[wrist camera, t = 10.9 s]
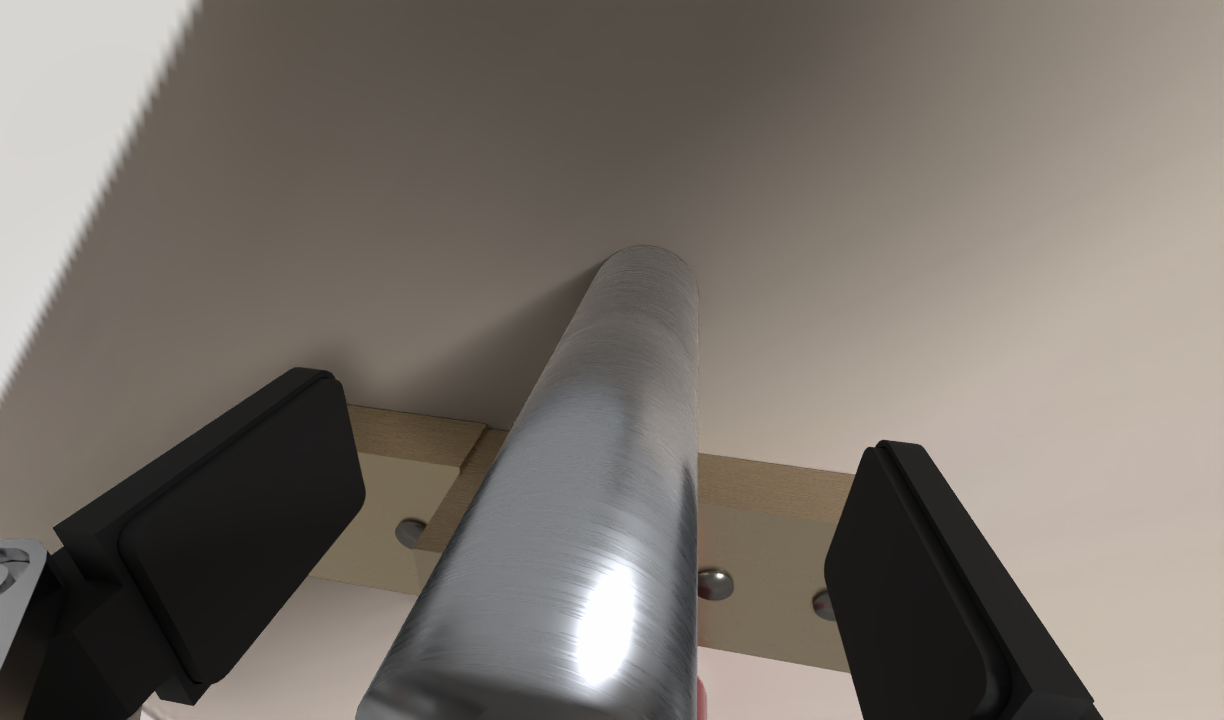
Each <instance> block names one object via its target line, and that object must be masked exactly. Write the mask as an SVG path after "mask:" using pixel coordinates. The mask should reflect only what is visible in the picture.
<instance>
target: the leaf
mask: <svg viewBox="0 0 1224 720" xmlns="http://www.w3.org/2000/svg"><path fill="white" fill-rule="evenodd" d="M347 408H348V413H349V417H350V422H351V426H352V431H353V435H354V440H355V444H356V449H357V453H358V458H359V462H360V467H361V471H362V476H363V480H364V485H365V489H366V497H365V502H364V504H363V507H362V508H361V510H360V511H359V513H358V514H357V515H356V516H355V518H354V519H353V520H352V521H351V523H350V524H349V525H348V526H347V528H346V529H345V530H344V531H343V532H342V534H341V535H340V536H339V537H338V539H337V540H336V541H335V542H334V544H333V545H332V546H331V547H330V549H329V550H328V551H327V552H326V553H325V555H324V556H323V557H322V558H321V560H320V561H319V562H318V563H317V565H316V566H315V567H314V568H313V570H312V571H311V572H310V573H309V574H308V576H312V577H317V578H323V579H328V580H334V581H340V582H345V583H351V584H356V585H362V586H367V587H373V588H379V589H384V590H390V591H395V592H401V593H406V594H412V595H418V596H419V595H420V593H421V589H420V584H419V579H418V574H417V569H416V564H415V559H414V554H413V549H412V548H413V547H414V545H415V543H416V542H417V540H418V539H419V537H420V535H421V534H422V532H423V531H424V529H425V527H426V526H427V524H428V523H429V521H430V519H431V518H432V516H433V515H434V513H435V511H436V510H437V508H438V507H439V505H440V503H441V502H442V500H443V498H444V497H445V495H446V494H447V492H448V490H449V489H450V487H451V486H452V484H453V482H454V481H455V479H456V478H457V476H458V474H459V473H460V471H461V470H462V468H463V466H464V465H465V463H466V462H467V460H468V458H469V457H470V455H471V454H472V452H473V450H474V449H475V447H476V446H477V444H478V442H479V441H480V439H481V438H482V436H483V434H484V433H485V431H486V429H487V424H482V423H475V422H468V421H461V420H454V419H446V418H439V417H432V416H425V415H417V414H410V413H403V412H396V411H389V410H381V409H374V408H367V407H360V406H353V405H347Z"/></svg>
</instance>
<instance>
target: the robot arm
mask: <svg viewBox="0 0 1224 720" xmlns="http://www.w3.org/2000/svg"><path fill="white" fill-rule="evenodd" d="M365 497H366V489H365V485H364V480H363V476H362V471H361V467H360V462H359V458H358V453H357V449H356V444H355V440H354V435H353V431H352V426H351V422H350V417H349V413H348V408H347V404H346V400H345V395H344V391H343V387H342V384H341V383H340V382H339V381H338V380H336V379H335V377H334V375H333V374H332V373H331V372H329V371H325V370H317V369H309V368H301V367H295V368H293V369H291V370H289V371H287V372H286V373H284V374H283V375H281V376H280V377H278V378H277V379H275V380H274V381H272V382H271V383H269V384H268V385H266V386H265V387H263V388H262V389H260V390H259V391H257V392H256V393H254V394H253V395H251V396H250V397H248V398H247V399H245V400H244V401H242V402H241V403H239V404H238V405H236V406H235V407H233V408H232V409H230V410H229V411H227V412H226V413H224V414H223V415H221V416H220V417H218V418H217V419H215V420H214V421H212V422H211V423H209V424H208V425H206V426H205V427H203V428H202V429H200V430H199V431H197V432H196V433H194V434H193V435H191V436H190V437H188V438H187V439H185V440H184V441H182V442H181V443H179V444H178V445H176V446H175V447H173V448H172V449H170V450H169V451H167V452H166V453H164V454H163V455H161V456H160V457H158V458H157V459H155V460H154V461H152V462H151V463H149V464H148V465H146V466H145V467H143V468H142V469H140V470H139V471H137V472H136V473H134V474H133V475H131V476H130V477H128V478H127V479H125V480H124V481H122V482H121V483H119V484H118V485H116V486H115V487H113V488H112V489H110V490H109V491H107V492H106V493H104V494H103V495H101V496H100V497H98V498H97V499H95V500H94V501H92V502H91V503H89V504H88V505H86V506H85V507H83V508H82V509H80V510H79V511H77V512H76V513H74V514H73V515H71V516H70V517H68V518H67V519H65V520H64V521H62V522H61V523H59V524H58V525H56V526H55V527H53V529H54V531H55V532H56V534H57V536H58V537H59V539H60V540H61V542H62V543H63V545H64V547H62V548H61V549H59V550H58V551H57V552H55V553H54V554H52V555H50V554H49V552H48V551H47V549H46V548H45V547H44V546H43V545H42V543H41V542H38V541H34V540H30V539H7V540H2V541H0V720H140V716H141V710H142V704H143V703H144V702H145V701H146V700H147V699H148V697H149V696H150V695H151V694H152V693H153V692H154V691H155V692H156V693H157V695H158V696H159V698H160V699H161V700H166V701H171V702H176V703H181V704H186V705H191V706H194V705H195V704H196V702H197V701H198V700H199V699H200V698H201V696H202V695H203V694H204V693H205V691H206V690H207V689H208V688H209V687H210V685H211V684H214V683H217V682H219V681H220V680H222V679H223V678H224V677H225V676H226V675H227V674H228V673H229V672H230V671H231V670H232V668H233V667H234V666H235V665H236V663H237V662H238V661H239V660H240V658H241V657H242V656H243V655H244V653H245V652H246V651H247V650H248V649H249V647H250V646H251V645H252V644H253V642H254V641H255V640H256V639H257V637H258V636H259V635H260V634H261V632H262V631H263V630H264V629H265V628H266V626H267V625H268V624H269V623H270V621H271V620H272V619H273V618H274V616H275V615H276V614H277V613H278V611H279V610H280V609H281V608H282V607H283V605H284V604H285V603H286V602H287V600H288V599H289V598H290V597H291V595H292V594H293V593H294V592H295V591H296V589H297V588H298V587H299V586H300V584H301V583H302V582H303V581H304V579H305V578H306V577H307V576H308V574H309V573H310V572H311V571H312V570H313V568H314V567H315V566H316V565H317V563H318V562H319V561H320V560H321V558H322V557H323V556H324V555H325V553H326V552H327V551H328V550H329V549H330V547H331V546H332V545H333V544H334V542H335V541H336V540H337V539H338V537H339V536H340V535H341V534H342V532H343V531H344V530H345V529H346V528H347V526H348V525H349V524H350V523H351V521H352V520H353V519H354V518H355V516H356V515H357V514H358V513H359V511H360V510H361V508H362V507H363V504H364V502H365ZM824 578H825V583H826V586H827V590H828V594H829V597H830V601H831V604H832V608H833V611H834V615H835V619H836V622H837V626H838V629H839V633H840V636H841V640H842V644H843V647H844V651H845V654H846V658H847V661H848V665H849V669H850V672H851V676H852V679H853V683H854V686H855V690H856V694H857V697H858V701H859V704H860V708H861V711H862V715H863V719H864V720H1103V718H1102V717H1101V715H1100V714H1099V712H1098V711H1097V709H1096V708H1095V706H1094V705H1093V702H1094V699H1093V698H1092V696H1091V695H1090V693H1089V692H1088V690H1087V689H1086V687H1085V686H1084V685H1083V683H1082V682H1081V680H1080V679H1079V677H1078V676H1077V674H1076V673H1075V671H1074V670H1073V668H1072V667H1071V665H1070V664H1069V662H1068V661H1067V659H1066V658H1065V656H1064V655H1063V653H1062V652H1061V650H1060V649H1059V647H1058V646H1057V644H1056V643H1055V641H1054V640H1053V639H1052V637H1051V636H1050V634H1049V633H1048V631H1047V630H1046V628H1045V627H1044V625H1043V624H1042V622H1041V621H1040V619H1039V618H1038V616H1037V615H1036V613H1035V612H1034V610H1033V609H1032V607H1031V606H1030V604H1029V603H1028V601H1027V600H1026V598H1025V597H1024V596H1023V594H1022V593H1021V591H1020V590H1019V588H1018V587H1017V585H1016V584H1015V582H1014V581H1013V579H1012V578H1011V576H1010V575H1009V573H1008V572H1007V570H1006V569H1005V567H1004V566H1003V564H1002V563H1001V561H1000V560H999V558H998V557H997V555H996V554H995V552H994V551H993V550H992V548H991V547H990V545H989V544H988V542H987V541H986V539H985V538H984V536H983V535H982V533H981V532H980V530H979V529H978V527H977V526H976V524H975V523H974V521H973V520H972V518H971V517H970V515H969V514H968V512H967V511H966V509H965V508H964V507H963V505H962V504H961V502H960V501H959V499H958V498H957V496H956V495H955V493H954V492H953V490H952V489H951V487H950V486H949V484H948V483H947V481H946V480H945V478H944V477H943V475H942V474H941V472H940V471H939V469H938V468H937V466H936V465H935V464H934V462H933V461H932V459H931V458H930V456H929V455H928V453H927V452H926V450H925V449H924V448H923V447H922V446H921V445H919V444H913V443H905V442H897V441H889V440H881V441H879V442H878V444H877V445H876V447H868V448H866V450H865V451H864V453H863V455H862V458H861V461H860V464H859V467H858V469H857V472H856V475H855V478H854V480H853V483H852V486H851V489H850V492H849V494H848V497H847V500H846V503H845V505H844V508H843V511H842V514H841V516H840V519H839V522H838V525H837V528H836V530H835V533H834V536H833V539H832V541H831V544H830V547H829V550H828V553H827V555H826V558H825V563H824Z"/></svg>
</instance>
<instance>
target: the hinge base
mask: <svg viewBox="0 0 1224 720" xmlns="http://www.w3.org/2000/svg"><path fill="white" fill-rule="evenodd" d="M508 434H509V432H508V431H501V430H494V429H486V431H485V433H484V434H483V436H482V438H481V439H480V441H479V442H478V444H477V446H476V447H475V449H474V450H473V452H472V454H471V455H470V457H469V458H468V460H467V462H466V463H465V465H464V466H463V468H462V470H461V471H460V473H459V474H458V476H457V478H456V479H455V481H454V482H453V484H452V486H451V487H450V489H449V490H448V492H447V494H446V495H445V497H444V498H443V500H442V502H441V503H440V505H439V507H438V508H437V510H436V511H435V513H434V515H433V516H432V518H431V519H430V521H429V523H428V524H427V526H426V527H425V529H424V531H423V532H422V534H421V535H420V537H419V539H418V540H417V542H416V543H415V545H414V547H413V548H412V549H413V554H414V559H415V564H416V569H417V574H418V579H419V584H420V589H421V592H422V590H423V588H424V586H425V584H426V583H427V581H428V579H429V577H430V575H431V573H432V572H433V570H434V568H435V566H436V564H437V563H438V561H439V559H440V557H441V555H442V553H443V552H444V550H445V548H446V546H447V544H448V543H449V541H450V539H451V537H452V535H453V534H454V532H455V530H456V528H457V526H458V524H459V523H460V521H461V519H462V517H463V515H464V514H465V512H466V510H467V508H468V506H469V504H470V503H471V501H472V499H473V497H474V495H475V494H476V492H477V490H478V488H479V486H480V485H481V483H482V481H483V479H484V477H485V475H486V474H487V472H488V470H489V468H490V466H491V465H492V463H493V461H494V459H495V457H496V455H497V454H498V452H499V450H500V448H501V446H502V445H503V443H504V441H505V439H506V437H507V436H508ZM854 478H855V475H850V474H843V473H836V472H829V471H822V470H814V469H807V468H800V467H793V466H785V465H778V464H771V463H764V462H757V461H749V460H742V459H735V458H728V457H721V456H713V455H706V454H699V453H698V583H697V646H702V647H707V648H713V649H718V650H724V651H730V652H735V653H741V654H746V655H752V656H757V657H763V658H769V659H774V660H780V661H785V662H791V663H796V664H802V665H808V666H813V667H819V668H824V669H830V670H835V671H841V672H847V673H851V672H850V669H849V665H848V661H847V658H846V654H845V651H844V647H843V644H842V640H841V636H840V633H839V629H838V626H837V622H836V619H835V615H834V611H833V608H832V604H831V601H830V597H829V594H828V590H827V586H826V583H825V578H824V563H825V558H826V555H827V553H828V550H829V547H830V544H831V541H832V539H833V536H834V533H835V530H836V528H837V525H838V522H839V519H840V516H841V514H842V511H843V508H844V505H845V503H846V500H847V497H848V494H849V492H850V489H851V486H852V483H853V480H854Z"/></svg>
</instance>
